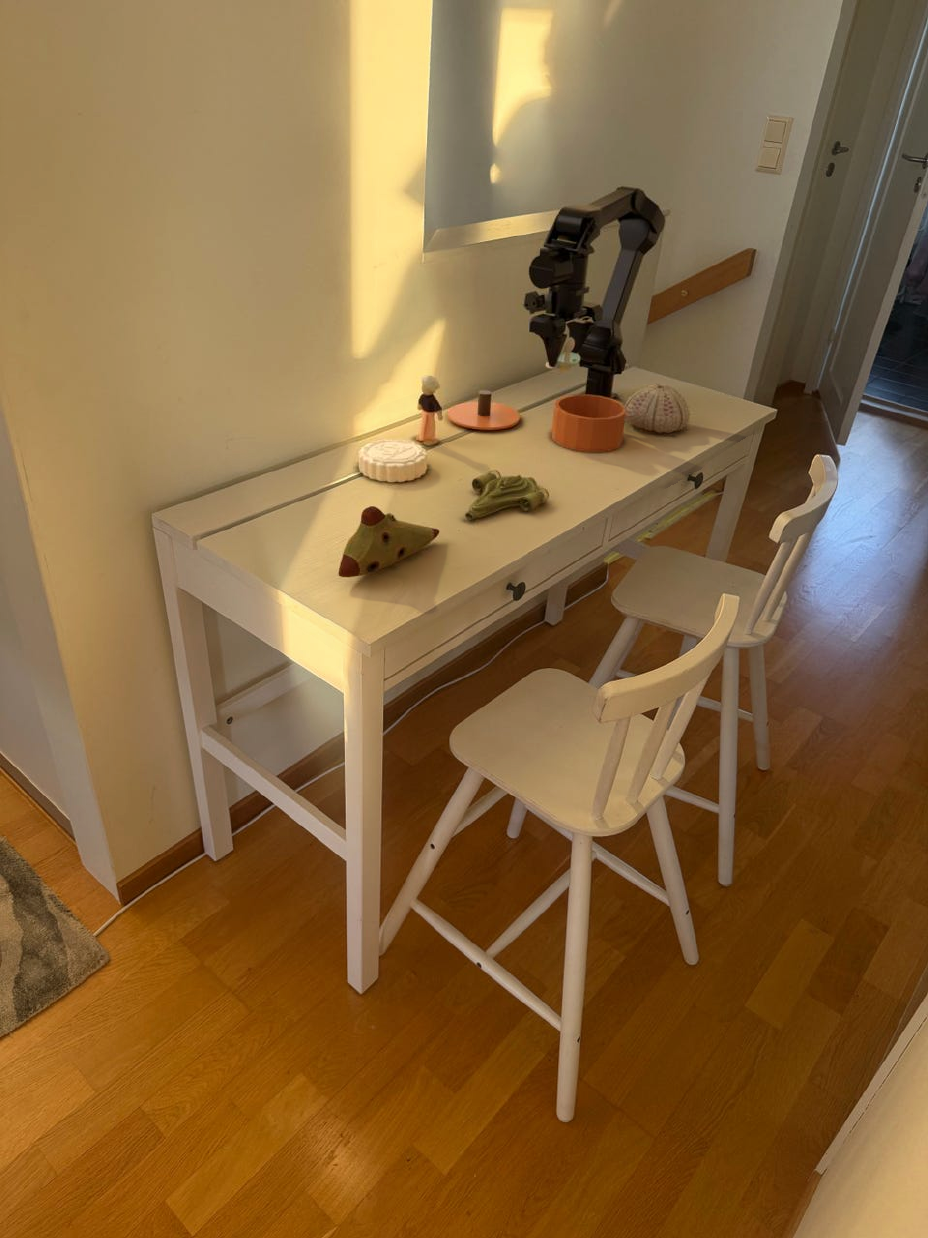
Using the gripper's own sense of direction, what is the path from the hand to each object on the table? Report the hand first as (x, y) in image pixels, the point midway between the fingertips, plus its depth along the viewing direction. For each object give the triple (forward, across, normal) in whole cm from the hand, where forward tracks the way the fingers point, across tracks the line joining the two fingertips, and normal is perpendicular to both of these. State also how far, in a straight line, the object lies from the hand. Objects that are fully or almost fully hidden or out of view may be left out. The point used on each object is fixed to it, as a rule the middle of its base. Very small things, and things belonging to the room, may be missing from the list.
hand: (562, 362), depth 177 cm
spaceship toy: (+11, +42, +15) cm, 45 cm away
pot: (+11, +7, +11) cm, 17 cm away
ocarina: (+11, +69, +14) cm, 71 cm away
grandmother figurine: (+11, +29, -11) cm, 33 cm away
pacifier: (+1, 0, 0) cm, 1 cm away
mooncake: (+11, +43, -7) cm, 45 cm away
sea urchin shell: (+11, -9, +18) cm, 23 cm away
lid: (+10, +12, -10) cm, 19 cm away
